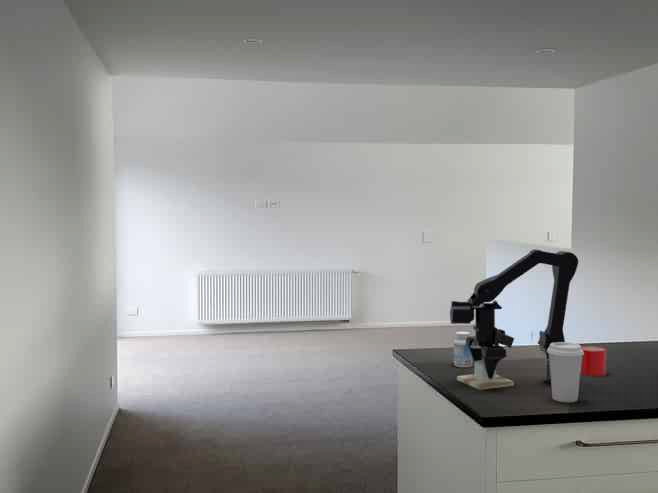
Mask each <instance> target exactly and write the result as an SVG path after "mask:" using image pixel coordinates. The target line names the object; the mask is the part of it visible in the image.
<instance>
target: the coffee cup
mask: <svg viewBox="0 0 658 493" xmlns="http://www.w3.org/2000/svg"><path fill="white" fill-rule="evenodd" d="M581 347H582V346H581V345H580V343H579V344H578V343H575V342H566V341H565V342H555V343H551V344H550V347H549V348H548V349H547V352H548V353H549V360H548V361H550V373H551V383H550V384H551V395H552V396H551V397H552V400H553V401H557V402H561V403H576V402H577V401H578V400H579V398H578V397H579V388H580V378H581V373H580V370H581V361H582V355H584V352H583V350H582V349H581Z"/></svg>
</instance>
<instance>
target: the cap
mask: <svg viewBox="0 0 658 493" xmlns="http://www.w3.org/2000/svg"><path fill="white" fill-rule="evenodd" d="M474 374H475V380H479V381H494V380H496V375H497V368H496V369H495V372H494V375H493V378H492V379H489V378H488V375H487V372H486V369H485V366H484V363H483V360H478V361H475V363H474Z"/></svg>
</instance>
